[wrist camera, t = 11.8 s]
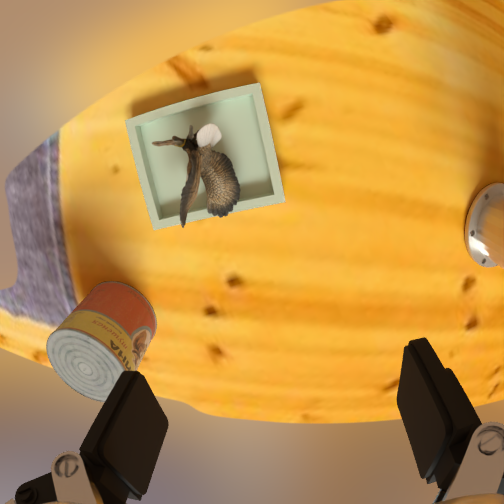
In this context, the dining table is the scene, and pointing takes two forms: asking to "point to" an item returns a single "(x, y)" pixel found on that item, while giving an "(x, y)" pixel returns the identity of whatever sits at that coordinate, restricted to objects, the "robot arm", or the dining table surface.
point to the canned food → (102, 339)
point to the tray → (231, 144)
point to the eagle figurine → (206, 172)
